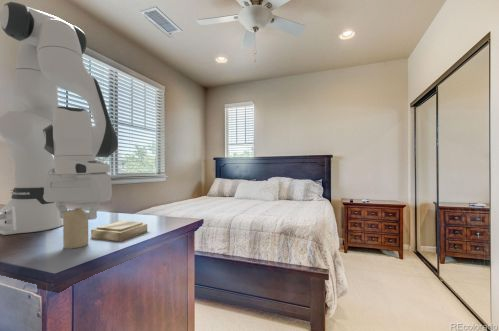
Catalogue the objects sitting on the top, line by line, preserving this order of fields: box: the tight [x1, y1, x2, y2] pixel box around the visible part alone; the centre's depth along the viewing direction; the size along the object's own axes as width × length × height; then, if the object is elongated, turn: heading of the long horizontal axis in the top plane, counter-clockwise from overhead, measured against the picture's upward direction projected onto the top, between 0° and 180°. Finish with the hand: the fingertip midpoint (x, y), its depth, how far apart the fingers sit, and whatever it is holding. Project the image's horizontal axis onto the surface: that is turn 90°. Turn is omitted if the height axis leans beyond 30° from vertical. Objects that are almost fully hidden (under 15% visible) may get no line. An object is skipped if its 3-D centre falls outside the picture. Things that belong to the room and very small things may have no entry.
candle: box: [62, 207, 89, 250], centre depth 67 cm, size 6×6×10 cm
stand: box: [90, 220, 148, 242], centre depth 77 cm, size 11×11×3 cm
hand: (78, 218), depth 67 cm, fingers open, 8 cm apart
